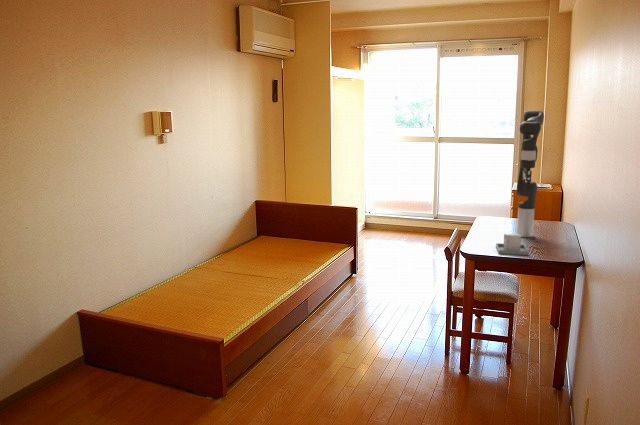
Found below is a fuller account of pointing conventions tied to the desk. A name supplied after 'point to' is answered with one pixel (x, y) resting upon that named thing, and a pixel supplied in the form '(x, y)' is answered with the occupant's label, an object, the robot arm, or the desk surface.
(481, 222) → the desk surface
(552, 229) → the desk surface
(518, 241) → the medicine box
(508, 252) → the tray
